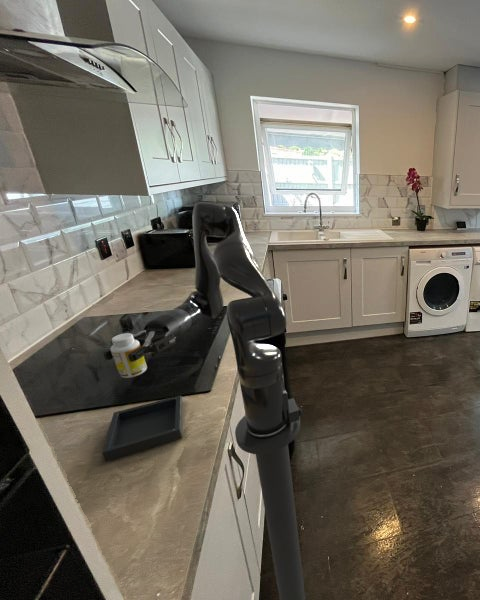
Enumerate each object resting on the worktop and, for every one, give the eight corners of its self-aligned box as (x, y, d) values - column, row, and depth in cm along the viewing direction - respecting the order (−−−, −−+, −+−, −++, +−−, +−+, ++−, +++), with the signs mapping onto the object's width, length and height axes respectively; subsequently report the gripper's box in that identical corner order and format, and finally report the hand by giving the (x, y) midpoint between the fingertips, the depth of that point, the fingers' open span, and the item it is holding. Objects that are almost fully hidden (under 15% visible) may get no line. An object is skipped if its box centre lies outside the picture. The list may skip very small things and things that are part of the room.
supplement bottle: (150, 364, 85) (140, 330, 81) (143, 376, 80) (131, 341, 76) (125, 367, 83) (113, 333, 79) (115, 380, 78) (102, 344, 74)
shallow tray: (182, 403, 81) (180, 395, 80) (182, 438, 71) (179, 429, 70) (116, 420, 75) (113, 412, 74) (105, 462, 65) (101, 452, 64)
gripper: (142, 312, 91) (84, 341, 76) (190, 315, 91) (142, 346, 75) (149, 335, 94) (94, 368, 79) (196, 338, 94) (150, 373, 78)
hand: (118, 357), depth 77 cm, fingers closed on supplement bottle, 5 cm apart
